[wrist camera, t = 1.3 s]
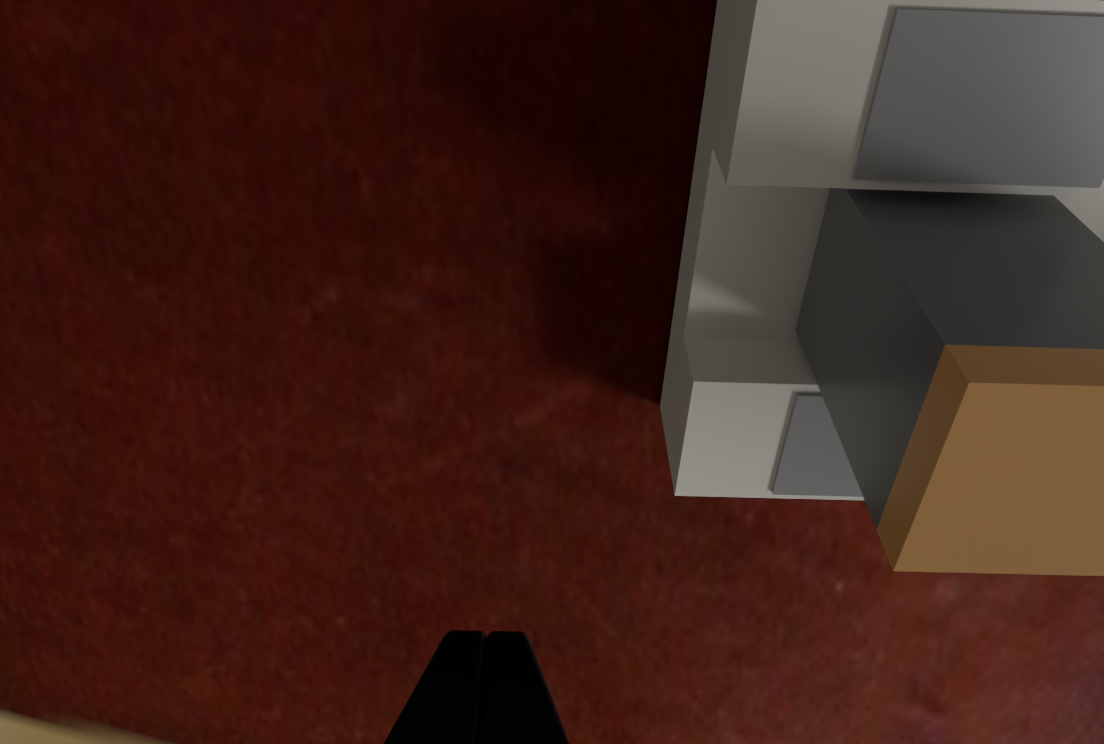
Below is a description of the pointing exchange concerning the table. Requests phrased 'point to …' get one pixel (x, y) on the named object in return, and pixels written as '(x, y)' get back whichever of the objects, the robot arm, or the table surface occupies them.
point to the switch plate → (851, 163)
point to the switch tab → (965, 375)
